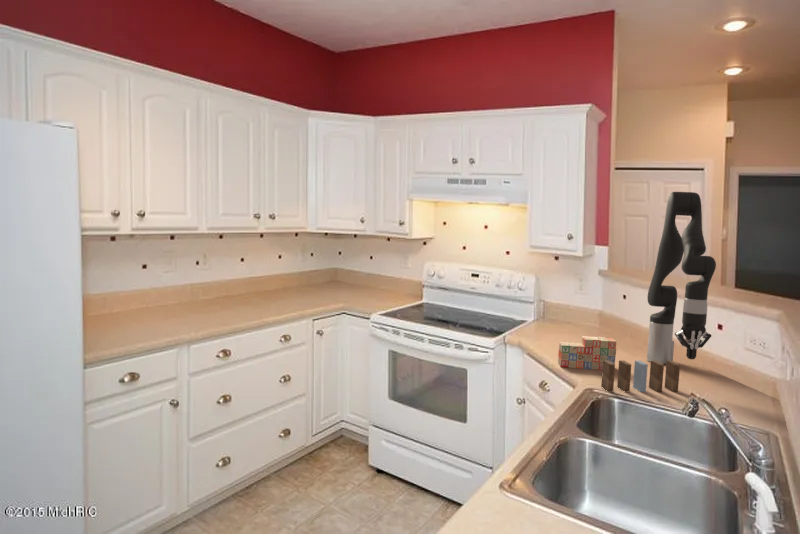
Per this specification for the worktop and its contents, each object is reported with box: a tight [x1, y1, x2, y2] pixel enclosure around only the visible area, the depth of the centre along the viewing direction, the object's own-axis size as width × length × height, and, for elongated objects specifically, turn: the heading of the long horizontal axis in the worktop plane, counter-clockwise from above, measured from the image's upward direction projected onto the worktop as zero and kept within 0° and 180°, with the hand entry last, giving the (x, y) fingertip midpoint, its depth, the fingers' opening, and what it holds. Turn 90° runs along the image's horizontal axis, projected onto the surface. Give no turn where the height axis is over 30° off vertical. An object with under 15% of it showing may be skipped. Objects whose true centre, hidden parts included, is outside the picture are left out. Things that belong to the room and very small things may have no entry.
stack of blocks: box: [557, 335, 617, 371], centre depth 218 cm, size 21×6×12 cm, turn 83°
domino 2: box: [632, 360, 649, 393], centre depth 190 cm, size 2×5×10 cm, turn 5°
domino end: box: [600, 360, 616, 392], centre depth 189 cm, size 2×5×10 cm, turn 5°
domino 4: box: [664, 360, 681, 393], centre depth 191 cm, size 2×5×10 cm, turn 5°
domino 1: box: [616, 359, 632, 392], centre depth 190 cm, size 2×5×10 cm, turn 5°
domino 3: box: [648, 361, 665, 393], centre depth 191 cm, size 2×5×10 cm, turn 5°
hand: (691, 358), depth 191 cm, fingers closed
